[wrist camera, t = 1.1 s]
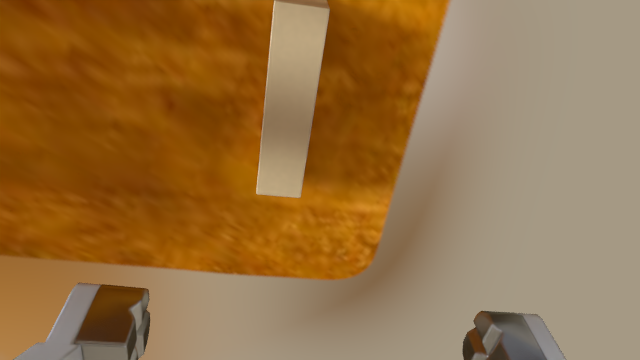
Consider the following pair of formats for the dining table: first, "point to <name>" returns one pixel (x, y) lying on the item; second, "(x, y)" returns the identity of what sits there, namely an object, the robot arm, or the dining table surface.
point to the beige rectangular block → (291, 94)
